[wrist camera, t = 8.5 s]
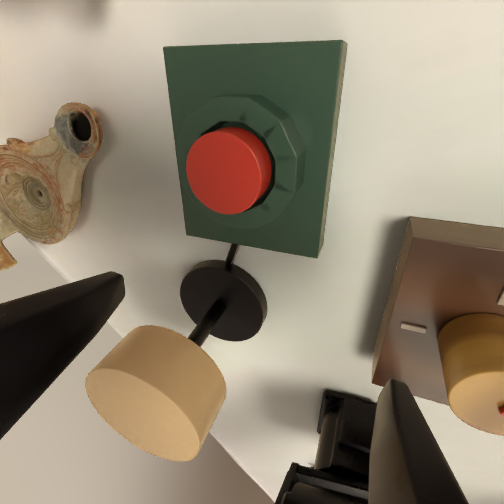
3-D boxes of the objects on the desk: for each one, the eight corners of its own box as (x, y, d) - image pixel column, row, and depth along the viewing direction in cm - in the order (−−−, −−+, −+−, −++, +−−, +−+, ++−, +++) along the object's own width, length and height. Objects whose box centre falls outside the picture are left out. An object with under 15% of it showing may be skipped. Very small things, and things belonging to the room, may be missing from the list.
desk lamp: (266, 341, 29) (205, 478, 19) (191, 321, 31) (103, 432, 22) (269, 238, 23) (185, 356, 14) (177, 223, 26) (52, 313, 16)
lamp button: (270, 208, 18) (261, 220, 17) (204, 199, 20) (189, 209, 18) (273, 128, 16) (262, 134, 15) (197, 124, 17) (180, 129, 16)
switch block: (322, 245, 22) (311, 275, 19) (199, 224, 25) (171, 247, 22) (347, 42, 16) (337, 35, 13) (181, 48, 19) (139, 44, 16)
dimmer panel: (521, 392, 22) (539, 434, 19) (372, 353, 25) (371, 385, 23) (621, 242, 16) (666, 275, 13) (409, 216, 19) (413, 238, 17)
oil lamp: (-7, 198, 33) (-132, 238, 25) (82, 54, 22) (-97, 45, 14) (50, 261, 35) (-51, 318, 27) (160, 161, 24) (42, 207, 16)
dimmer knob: (420, 339, 19) (427, 401, 16) (483, 299, 17) (510, 361, 13) (478, 381, 19) (499, 452, 16) (551, 346, 17) (596, 423, 13)
